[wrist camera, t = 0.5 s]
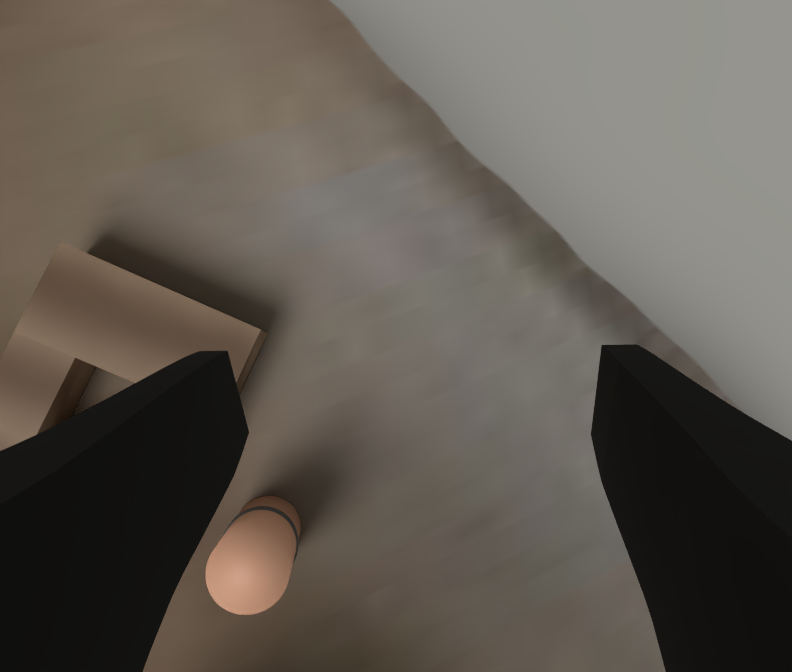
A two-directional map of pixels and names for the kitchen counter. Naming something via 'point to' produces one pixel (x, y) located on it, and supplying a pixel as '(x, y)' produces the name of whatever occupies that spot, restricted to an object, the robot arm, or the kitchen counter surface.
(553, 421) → the kitchen counter surface
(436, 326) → the kitchen counter surface
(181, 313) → the socket board
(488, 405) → the kitchen counter surface
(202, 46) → the kitchen counter surface
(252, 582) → the peg
